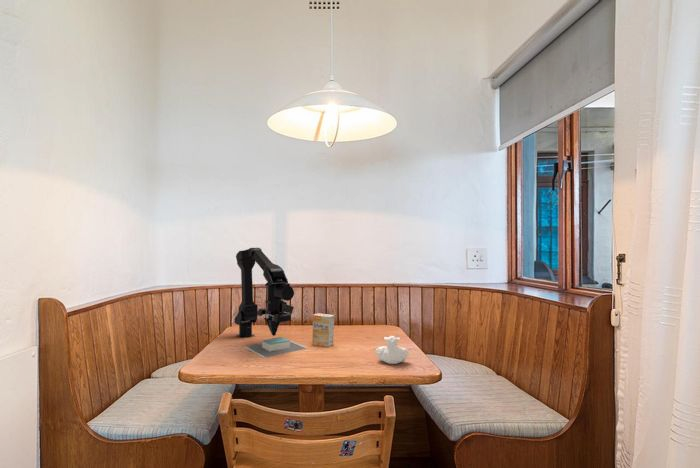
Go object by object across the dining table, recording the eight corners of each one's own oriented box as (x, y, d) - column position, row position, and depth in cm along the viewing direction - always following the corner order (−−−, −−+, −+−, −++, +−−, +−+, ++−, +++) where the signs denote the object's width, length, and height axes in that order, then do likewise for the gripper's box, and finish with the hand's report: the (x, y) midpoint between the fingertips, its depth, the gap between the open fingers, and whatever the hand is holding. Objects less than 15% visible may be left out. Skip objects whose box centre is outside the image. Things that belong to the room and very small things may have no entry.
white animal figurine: (375, 368, 138) (374, 349, 131) (376, 350, 144) (375, 331, 137) (408, 369, 136) (409, 350, 129) (408, 352, 142) (408, 333, 135)
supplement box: (311, 345, 159) (312, 314, 159) (317, 342, 163) (317, 312, 163) (328, 348, 155) (329, 316, 155) (334, 345, 159) (334, 314, 160)
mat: (243, 347, 155) (243, 346, 155) (286, 340, 167) (286, 339, 167) (263, 358, 141) (263, 357, 141) (308, 349, 153) (308, 348, 153)
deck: (262, 340, 154) (270, 343, 148) (281, 336, 160) (290, 340, 154) (262, 347, 154) (269, 351, 148) (281, 343, 159) (289, 347, 154)
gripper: (302, 298, 154) (302, 336, 153) (280, 293, 168) (280, 328, 168) (278, 301, 147) (277, 341, 146) (257, 295, 161) (257, 332, 161)
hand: (273, 335), depth 156 cm, fingers closed
